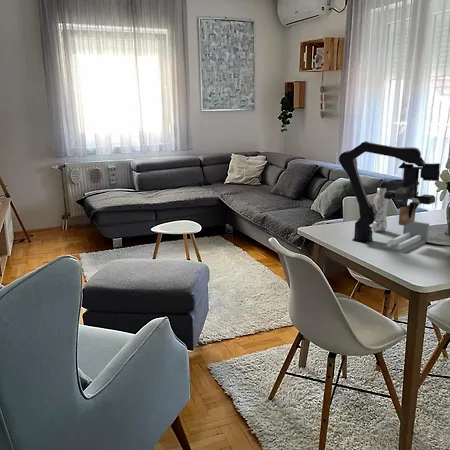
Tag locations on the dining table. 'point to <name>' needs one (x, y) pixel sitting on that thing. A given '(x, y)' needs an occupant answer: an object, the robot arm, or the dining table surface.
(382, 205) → the plastic bottle
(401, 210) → the door panel
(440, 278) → the dining table surface
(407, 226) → the track board
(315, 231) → the dining table surface
